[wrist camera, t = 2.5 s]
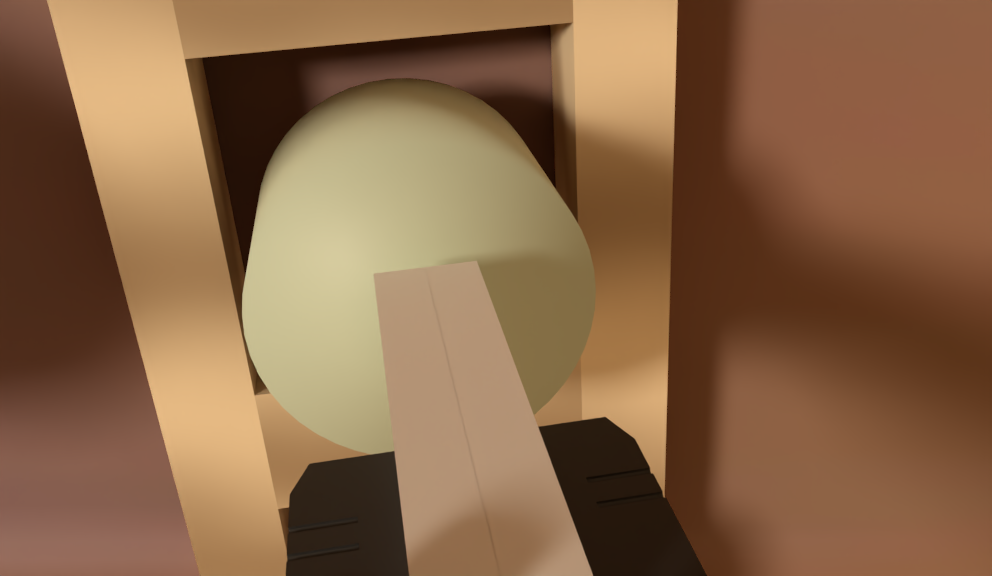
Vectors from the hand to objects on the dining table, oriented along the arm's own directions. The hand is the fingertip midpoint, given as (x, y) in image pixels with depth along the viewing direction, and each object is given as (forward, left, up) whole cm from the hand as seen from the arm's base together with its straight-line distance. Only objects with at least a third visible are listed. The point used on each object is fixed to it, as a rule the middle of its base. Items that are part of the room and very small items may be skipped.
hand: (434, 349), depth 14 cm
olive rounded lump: (0, 0, -5) cm, 5 cm away
